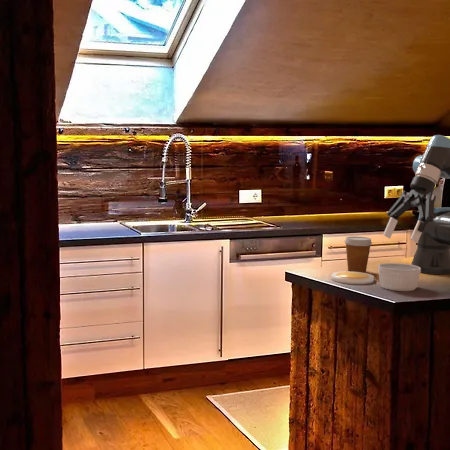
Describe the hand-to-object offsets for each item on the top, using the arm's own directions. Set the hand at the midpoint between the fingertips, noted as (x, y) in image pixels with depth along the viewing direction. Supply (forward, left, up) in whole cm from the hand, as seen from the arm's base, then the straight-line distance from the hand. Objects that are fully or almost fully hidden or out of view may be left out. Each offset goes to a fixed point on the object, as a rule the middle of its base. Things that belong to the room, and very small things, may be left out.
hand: (399, 238), depth 226 cm
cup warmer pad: (+8, -12, -15) cm, 21 cm away
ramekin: (+4, +4, -15) cm, 16 cm away
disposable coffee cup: (-4, -22, -15) cm, 27 cm away
